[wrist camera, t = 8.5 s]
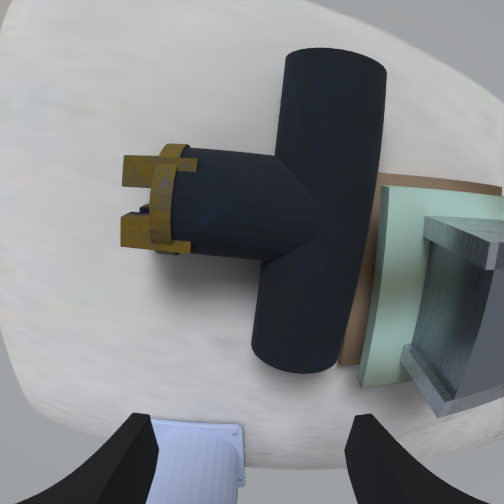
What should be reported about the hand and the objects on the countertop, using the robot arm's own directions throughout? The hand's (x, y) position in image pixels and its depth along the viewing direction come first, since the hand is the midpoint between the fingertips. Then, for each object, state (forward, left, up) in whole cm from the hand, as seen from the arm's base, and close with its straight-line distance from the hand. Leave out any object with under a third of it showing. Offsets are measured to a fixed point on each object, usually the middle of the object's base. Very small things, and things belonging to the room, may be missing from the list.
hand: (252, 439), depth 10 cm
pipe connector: (+7, 0, -10) cm, 12 cm away
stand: (+3, -11, -10) cm, 15 cm away
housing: (+3, -11, -6) cm, 13 cm away
